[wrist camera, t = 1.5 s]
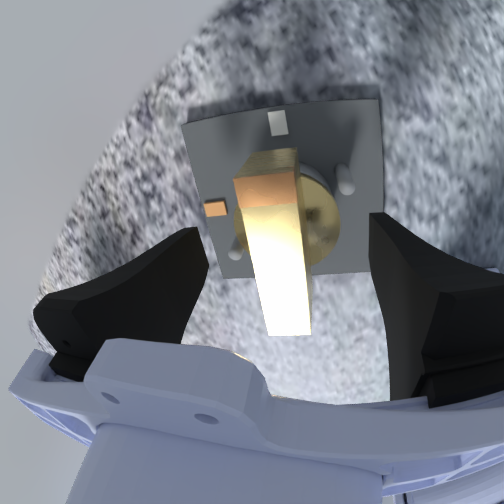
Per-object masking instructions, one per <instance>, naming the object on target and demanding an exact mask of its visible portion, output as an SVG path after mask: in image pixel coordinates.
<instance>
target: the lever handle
mask: <svg viewBox="0 0 504 504" xmlns="http://www.w3.org/2000/svg"><path fill="white" fill-rule="evenodd" d="M233 182H234V186H235V191H236V195H237V200H238V203H237V205H236V208H235V212H234V228H235V233H236V236H237V238H238V240H239V242H240V244H241V245H242V247H243V248H244V249H245V251H246V252H247V253H248V254H249V255H250V256H251V257H252V261H253V266H254V270H255V275H256V279H257V284H258V288H259V292H260V297H261V301H262V306H263V310H264V315H265V319H266V323H267V328H268V332H269V335H311V318H312V291H313V285H312V273H311V266H312V265H314V264H317V263H318V262H320V261H321V260H323V259H324V258H325V257H326V256H327V255H328V254H329V253H330V252H331V251H332V250H333V248H334V247H335V245H336V243H337V241H338V238H339V234H340V227H341V222H340V215H339V210H338V206H337V203H336V201H335V199H334V197H333V195H332V194H331V192H330V191H329V190H328V189H327V188H326V187H325V186H324V185H323V184H322V183H321V182H319V181H318V180H317V179H315V178H313V177H311V176H309V175H307V174H304V173H300V166H299V159H298V152H297V147H295V148H285V149H276V150H268V151H260V152H253V153H252V154H251V155H250V156H249V158H248V159H247V161H246V162H245V163H244V165H243V166H242V168H241V169H240V170H239V172H238V173H237V174H236V175H235V177H234V178H233Z"/></svg>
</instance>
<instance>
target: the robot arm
mask: <svg viewBox="0 0 504 504" xmlns="http://www.w3.org/2000/svg"><path fill="white" fill-rule="evenodd" d="M368 258H369V264H370V270H371V276H372V279H373V283H374V286H375V290H376V294H377V297H378V301H379V304H380V308H381V312H382V315H383V319H384V324H385V330H386V339H387V348H388V359H389V375H390V401H384V402H374V403H362V404H346V405H333V404H325V403H318V402H311V401H305V400H299V399H293V398H287V397H281V396H276V395H271V394H270V392H269V391H268V387H267V384H266V381H265V377H264V376H263V375H262V374H261V372H260V371H259V370H258V369H257V367H256V366H255V365H254V364H253V363H252V362H251V361H249V360H248V359H246V358H244V357H242V356H240V355H238V354H236V353H234V352H233V351H230V350H225V349H220V348H215V347H210V346H200V345H185V344H181V340H182V337H183V334H184V330H185V328H186V325H187V322H188V320H189V318H190V315H191V313H192V311H193V309H194V306H195V304H196V302H197V300H198V297H199V295H200V293H201V290H202V288H203V286H204V283H205V280H206V276H207V272H208V268H209V263H208V260H207V257H206V254H205V251H204V247H203V244H202V241H201V238H200V235H199V231H198V228H197V227H189V228H183V229H181V230H179V231H177V232H176V233H174V234H172V235H171V236H169V237H167V238H166V239H164V240H163V241H161V242H160V243H158V244H157V245H155V246H154V247H152V248H151V249H149V250H147V251H146V252H144V253H143V254H141V255H140V256H138V257H136V258H135V259H133V260H132V261H130V262H128V263H126V264H125V265H123V266H121V267H119V268H117V269H115V270H113V271H111V272H109V273H107V274H105V275H102V276H100V277H98V278H96V279H93V280H91V281H88V282H86V283H83V284H80V285H77V286H74V287H71V288H68V289H64V290H60V291H57V292H53V293H49V294H47V295H45V296H44V297H43V299H42V300H41V301H40V302H39V303H38V305H37V306H36V307H35V308H34V310H33V316H34V320H35V322H36V324H37V326H38V328H39V329H40V331H41V332H42V333H43V335H44V336H45V337H46V339H47V340H48V341H49V343H50V344H51V345H52V346H53V348H54V349H55V350H56V351H57V353H56V354H55V356H54V357H53V356H52V355H50V354H49V353H46V352H43V351H40V350H37V349H34V351H33V352H32V353H31V355H30V356H29V358H28V359H27V361H26V362H25V364H24V365H23V367H22V368H21V370H20V371H19V373H18V374H17V376H16V377H15V379H14V380H13V382H12V384H11V385H10V387H9V391H10V392H11V393H12V394H13V395H14V396H15V397H16V398H17V399H18V400H19V401H20V402H21V403H22V404H23V405H24V406H26V407H27V408H28V409H29V410H30V411H31V412H32V413H34V414H35V415H36V416H37V417H38V418H40V419H41V420H42V421H43V422H45V423H46V424H48V425H50V426H51V427H53V428H55V429H56V430H58V431H60V432H62V433H64V434H66V435H67V436H69V437H71V438H72V439H74V440H76V441H78V442H80V443H82V444H83V445H85V446H87V447H89V450H88V452H87V454H86V456H85V459H84V461H83V463H82V466H81V468H80V470H79V472H78V475H77V477H76V479H75V482H74V484H73V487H72V489H71V492H70V494H69V496H68V499H67V502H66V504H382V497H386V496H392V495H393V501H394V504H504V274H501V273H500V272H499V270H498V269H497V268H489V269H483V268H480V267H477V266H474V265H472V264H469V263H466V262H464V261H462V260H459V259H457V258H455V257H453V256H451V255H448V254H446V253H445V252H443V251H441V250H439V249H437V248H435V247H434V246H432V245H430V244H428V243H427V242H425V241H424V240H422V239H421V238H419V237H418V236H416V235H415V234H413V233H412V232H411V231H409V230H408V229H406V228H405V227H404V226H402V225H401V224H400V223H398V222H397V221H396V220H394V219H393V218H392V217H390V216H389V215H388V214H386V213H384V212H376V213H369V250H368Z"/></svg>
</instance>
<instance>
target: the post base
mask: <svg viewBox="0 0 504 504" xmlns="http://www.w3.org/2000/svg"><path fill="white" fill-rule="evenodd" d="M181 128H182V132H183V136H184V140H185V144H186V148H187V152H188V156H189V159H190V163H191V167H192V171H193V175H194V178H195V182H196V186H197V189H198V193H199V197H200V200H201V204H202V207H203V211H204V214H205V218H206V221H207V225H208V228H209V232H210V235H211V239H212V242H213V246H214V249H215V252H216V256H217V259H218V263H219V266H220V269H221V272H222V276H223V279H233V278H256V275H255V270H254V266H253V261H252V257H251V256H250V255H249V254H248V253H247V252H246V251H245V249H244V248H243V247H242V245H241V244H240V242H239V240H238V238H237V236H236V233H235V228H234V212H235V208H236V205H237V203H238V200H237V195H236V191H235V186H234V182H233V178H234V177H235V175H236V174H237V173H238V172H239V170H240V169H241V168H242V166H243V165H244V163H245V162H246V161H247V159H248V158H249V156H250V155H251V154H252V153H253V152H260V151H268V150H276V149H285V148H295V147H297V152H298V159H299V166H300V173H304V174H307V175H309V176H311V177H313V178H315V179H317V180H318V181H319V182H321V183H322V184H323V185H324V186H325V187H326V188H327V189H328V190H329V191H330V192H331V194H332V195H333V197H334V199H335V201H336V203H337V206H338V210H339V215H340V222H341V227H340V234H339V238H338V241H337V243H336V245H335V247H334V248H333V250H332V251H331V252H330V253H329V254H328V255H327V256H326V257H325V258H324V259H323V260H321V261H320V262H318V263H317V264H314V265H312V266H311V273H312V275H323V274H341V273H358V272H371V270H370V264H369V258H368V250H369V213H376V212H383V155H382V137H381V123H380V112H379V102H378V99H346V100H329V101H316V102H306V103H296V104H288V105H280V106H272V107H265V108H259V109H253V110H247V111H241V112H235V113H230V114H225V115H220V116H215V117H210V118H206V119H201V120H197V121H193V122H188V123H185V124H183V125H181Z"/></svg>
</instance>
